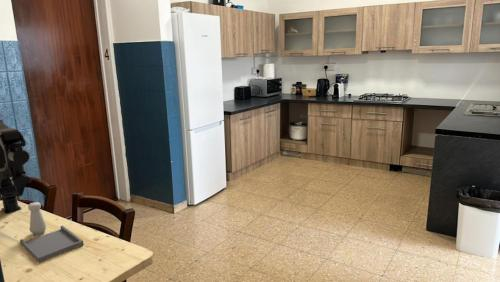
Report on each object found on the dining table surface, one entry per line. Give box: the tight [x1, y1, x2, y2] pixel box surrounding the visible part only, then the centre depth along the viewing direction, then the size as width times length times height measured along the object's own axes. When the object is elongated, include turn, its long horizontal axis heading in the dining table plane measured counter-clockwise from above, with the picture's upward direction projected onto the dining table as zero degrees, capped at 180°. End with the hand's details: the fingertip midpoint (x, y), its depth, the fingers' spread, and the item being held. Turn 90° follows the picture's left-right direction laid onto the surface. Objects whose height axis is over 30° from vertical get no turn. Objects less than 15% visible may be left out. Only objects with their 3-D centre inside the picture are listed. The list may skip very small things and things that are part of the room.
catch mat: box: [19, 225, 84, 264], centre depth 139 cm, size 19×16×2 cm
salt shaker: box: [27, 201, 47, 237], centre depth 146 cm, size 6×6×13 cm
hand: (20, 195), depth 155 cm, fingers closed
